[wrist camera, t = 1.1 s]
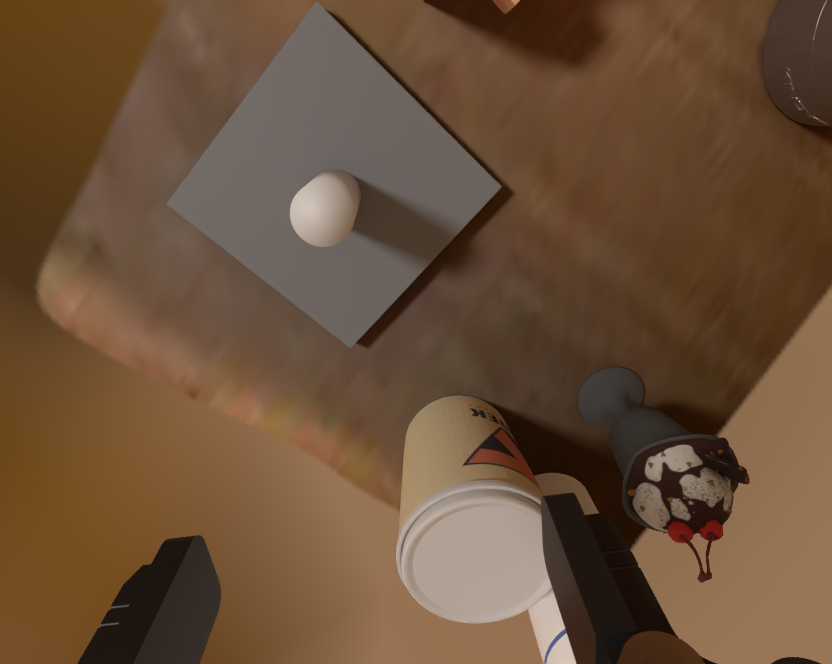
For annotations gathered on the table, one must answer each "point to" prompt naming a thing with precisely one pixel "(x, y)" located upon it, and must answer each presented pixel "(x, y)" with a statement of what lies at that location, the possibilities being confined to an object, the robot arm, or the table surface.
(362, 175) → the base
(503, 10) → the orange hollow box
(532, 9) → the table surface
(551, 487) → the cylindrical container
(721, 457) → the sundae
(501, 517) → the coffee cup
